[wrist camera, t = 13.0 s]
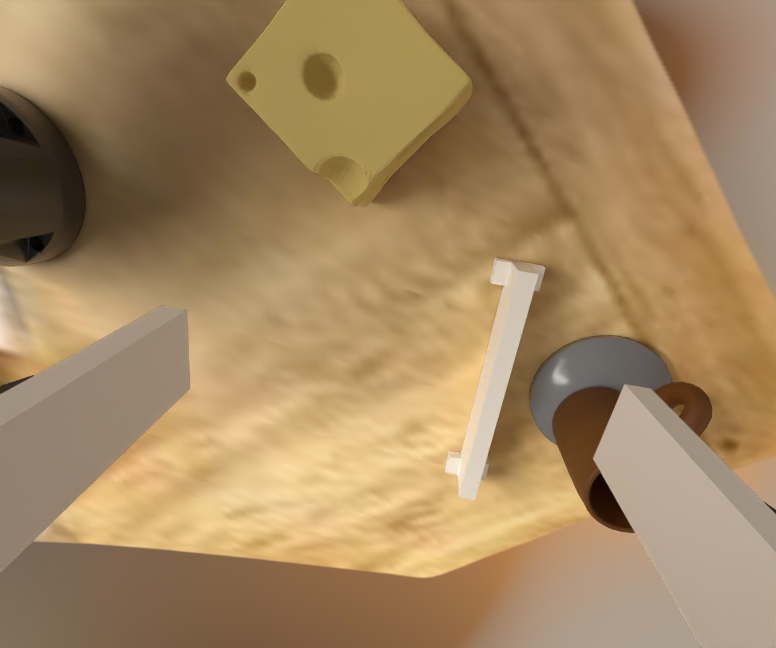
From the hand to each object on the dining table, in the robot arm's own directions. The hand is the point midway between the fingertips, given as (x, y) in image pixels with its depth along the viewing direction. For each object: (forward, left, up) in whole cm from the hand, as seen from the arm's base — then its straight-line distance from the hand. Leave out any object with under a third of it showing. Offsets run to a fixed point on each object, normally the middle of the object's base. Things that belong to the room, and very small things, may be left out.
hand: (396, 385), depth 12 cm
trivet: (+18, -11, -24) cm, 32 cm away
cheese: (-6, +10, -24) cm, 27 cm away
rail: (+8, -11, -24) cm, 28 cm away
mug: (+19, -11, -24) cm, 32 cm away
